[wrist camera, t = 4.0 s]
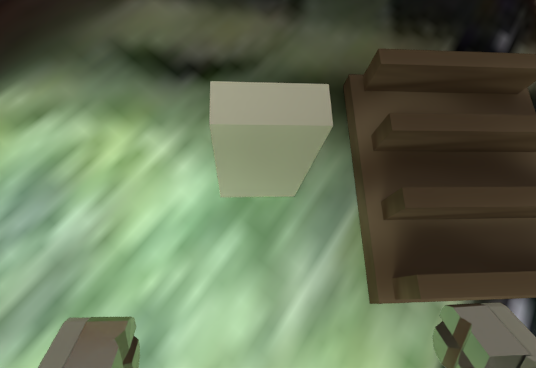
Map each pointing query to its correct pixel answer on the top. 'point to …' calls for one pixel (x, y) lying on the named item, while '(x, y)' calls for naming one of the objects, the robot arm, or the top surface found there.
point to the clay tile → (266, 135)
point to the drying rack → (445, 174)
